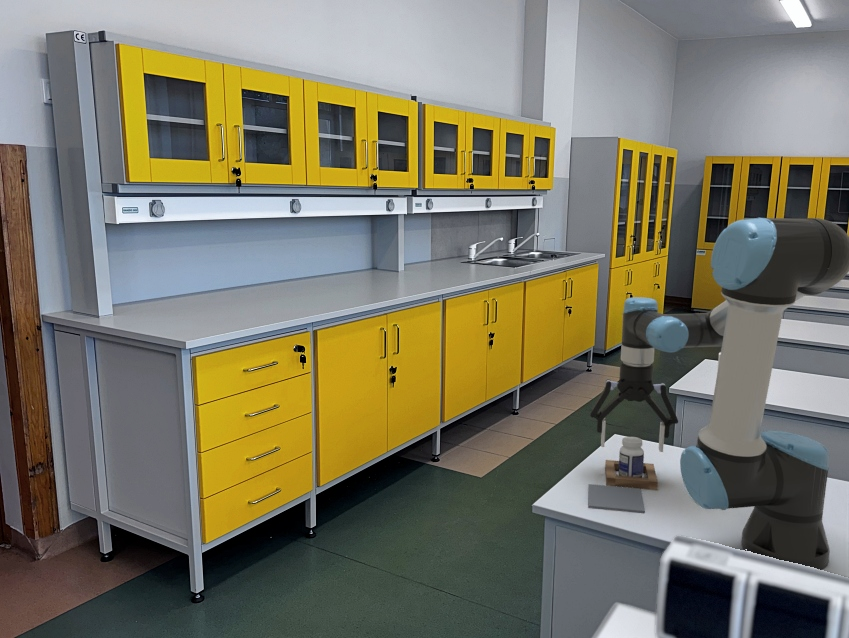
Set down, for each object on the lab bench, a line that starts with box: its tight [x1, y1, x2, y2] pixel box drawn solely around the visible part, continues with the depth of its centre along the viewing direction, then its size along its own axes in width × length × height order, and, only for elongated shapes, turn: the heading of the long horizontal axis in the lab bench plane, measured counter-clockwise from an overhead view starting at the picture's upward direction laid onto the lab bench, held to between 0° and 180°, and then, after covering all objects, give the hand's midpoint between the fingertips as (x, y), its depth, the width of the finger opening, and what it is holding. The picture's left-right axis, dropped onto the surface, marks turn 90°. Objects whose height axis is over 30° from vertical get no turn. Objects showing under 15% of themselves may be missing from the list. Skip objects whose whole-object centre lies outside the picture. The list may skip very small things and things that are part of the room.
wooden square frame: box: [604, 459, 659, 491], centre depth 169 cm, size 12×12×2 cm
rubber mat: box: [587, 483, 646, 514], centre depth 158 cm, size 12×12×1 cm
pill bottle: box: [618, 436, 645, 478], centre depth 169 cm, size 6×6×10 cm
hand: (631, 447), depth 169 cm, fingers open, 13 cm apart
